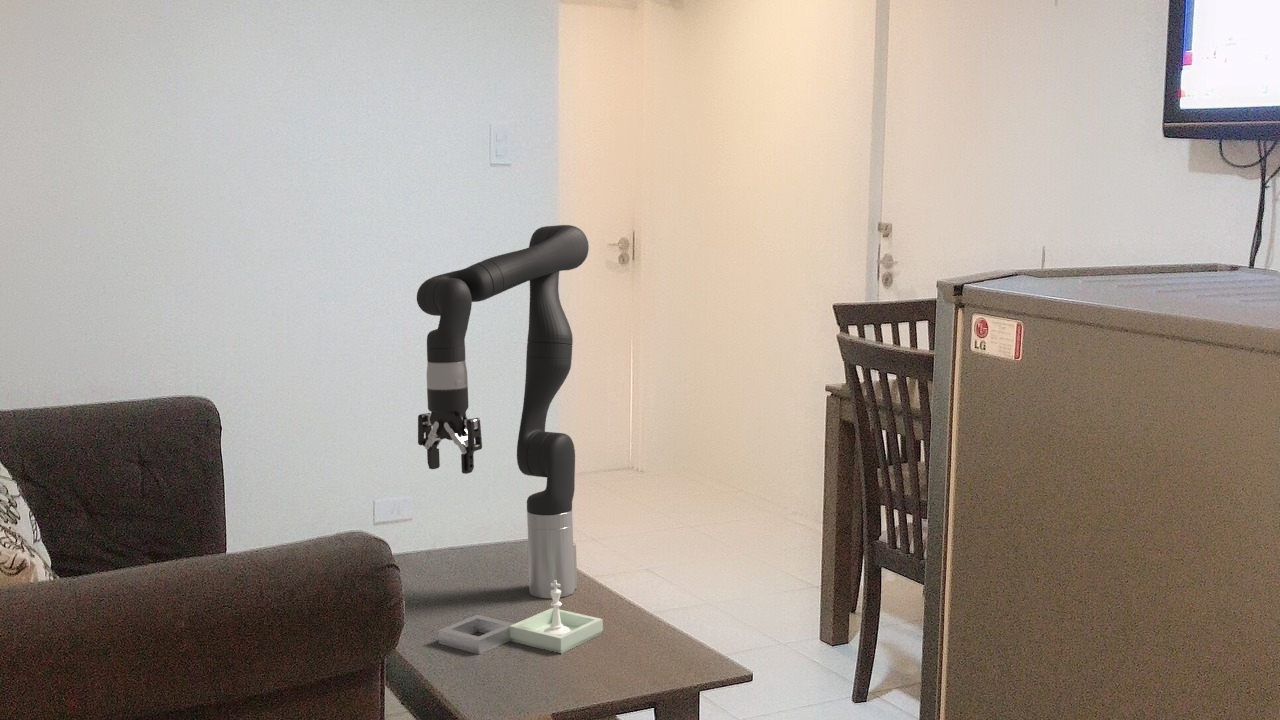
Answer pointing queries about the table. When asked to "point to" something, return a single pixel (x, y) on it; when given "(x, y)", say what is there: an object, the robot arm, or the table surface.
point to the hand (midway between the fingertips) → (450, 470)
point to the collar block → (463, 639)
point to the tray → (535, 636)
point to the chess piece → (556, 613)
